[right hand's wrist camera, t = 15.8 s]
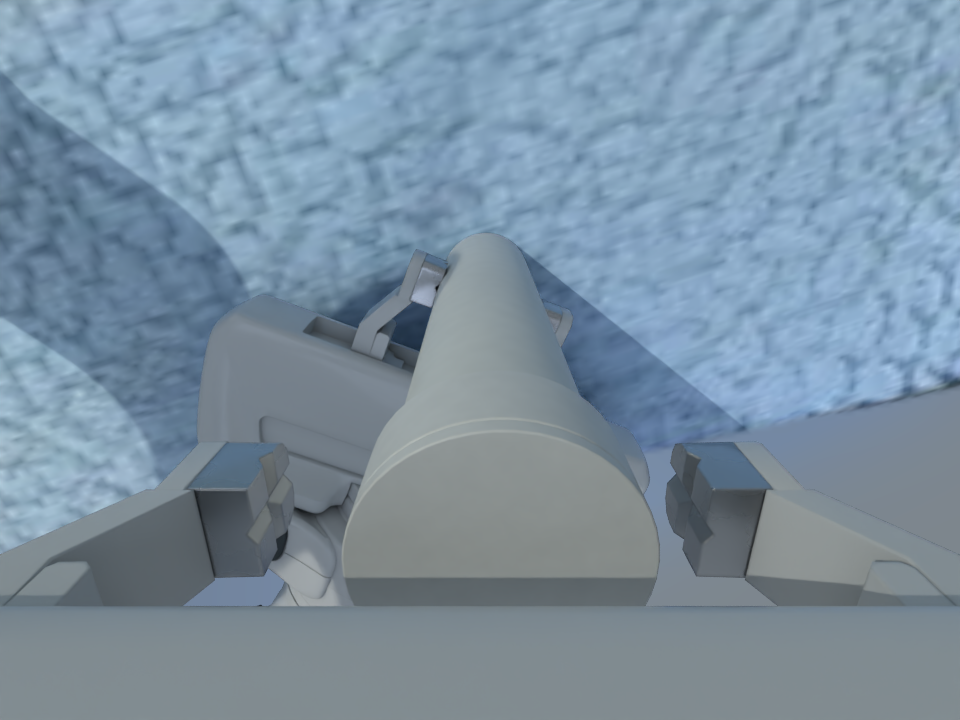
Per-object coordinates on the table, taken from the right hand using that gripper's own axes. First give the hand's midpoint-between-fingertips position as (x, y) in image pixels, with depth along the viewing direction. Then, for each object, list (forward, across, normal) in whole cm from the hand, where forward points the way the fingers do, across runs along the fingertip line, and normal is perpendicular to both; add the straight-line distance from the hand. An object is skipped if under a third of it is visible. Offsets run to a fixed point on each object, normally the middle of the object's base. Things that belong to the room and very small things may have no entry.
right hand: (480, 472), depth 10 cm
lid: (-2, 0, 0) cm, 2 cm away
